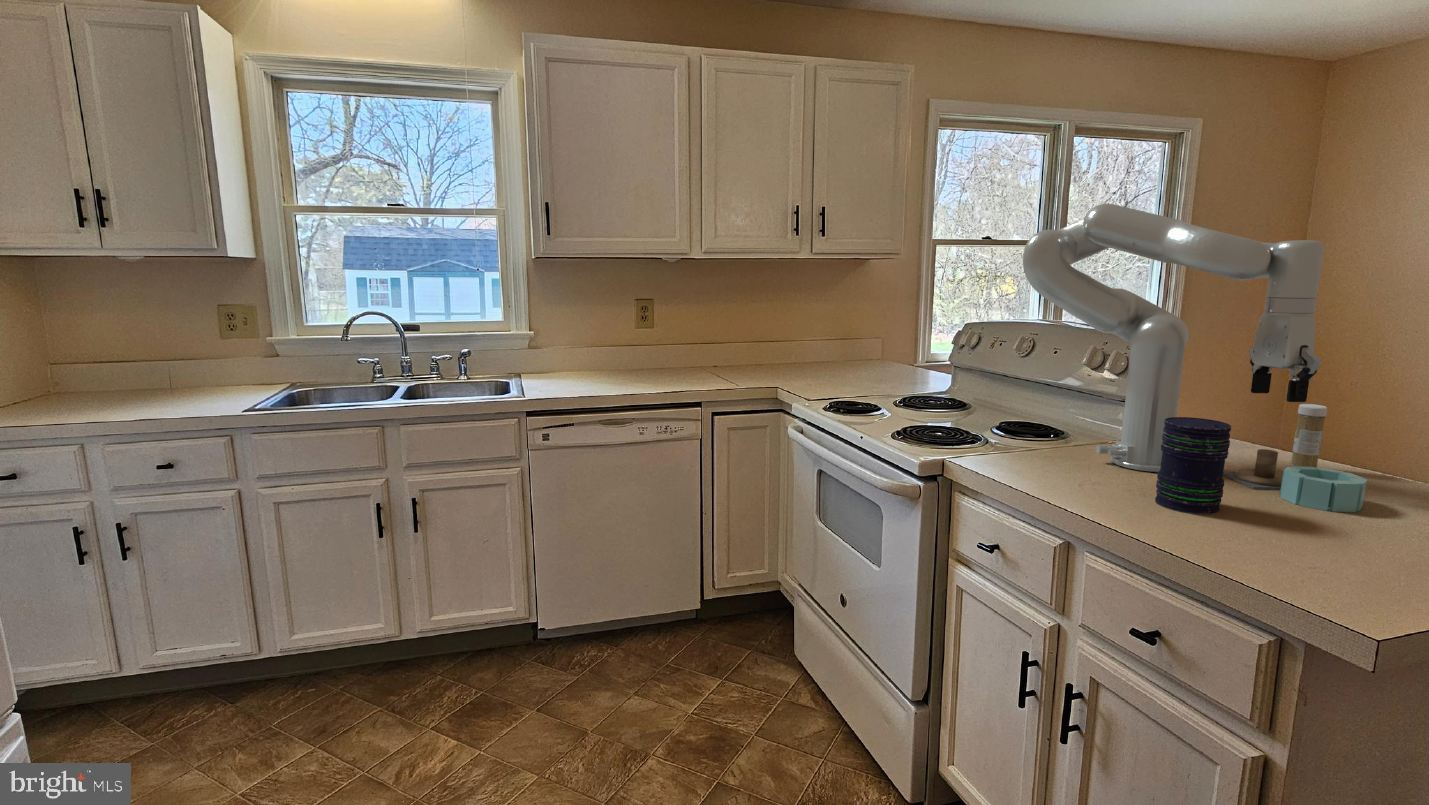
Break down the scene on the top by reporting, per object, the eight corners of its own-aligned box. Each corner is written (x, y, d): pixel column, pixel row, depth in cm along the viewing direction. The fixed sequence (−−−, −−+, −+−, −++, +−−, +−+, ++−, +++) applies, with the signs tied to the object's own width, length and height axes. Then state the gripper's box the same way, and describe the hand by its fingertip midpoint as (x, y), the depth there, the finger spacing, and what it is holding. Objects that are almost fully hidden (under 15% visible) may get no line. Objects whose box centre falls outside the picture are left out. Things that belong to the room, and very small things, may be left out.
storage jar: (1142, 502, 128) (1151, 420, 125) (1172, 493, 133) (1181, 414, 130) (1202, 518, 120) (1214, 431, 117) (1232, 508, 124) (1244, 425, 122)
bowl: (1310, 511, 123) (1314, 483, 122) (1266, 491, 134) (1270, 465, 133) (1378, 512, 122) (1383, 484, 121) (1329, 493, 133) (1333, 467, 132)
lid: (1254, 486, 136) (1258, 456, 135) (1225, 473, 145) (1229, 445, 144) (1304, 487, 135) (1309, 457, 134) (1272, 474, 144) (1276, 446, 143)
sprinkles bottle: (1292, 464, 153) (1302, 402, 150) (1320, 468, 149) (1330, 405, 147) (1286, 467, 150) (1296, 405, 148) (1314, 472, 147) (1324, 408, 144)
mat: (1253, 489, 136) (1253, 486, 136) (1220, 474, 145) (1221, 472, 145) (1309, 490, 135) (1309, 488, 135) (1272, 475, 145) (1272, 473, 145)
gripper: (1238, 305, 143) (1227, 389, 146) (1303, 310, 126) (1289, 405, 129) (1277, 305, 142) (1266, 390, 145) (1347, 309, 125) (1333, 405, 128)
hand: (1277, 397), depth 137 cm, fingers open, 9 cm apart
